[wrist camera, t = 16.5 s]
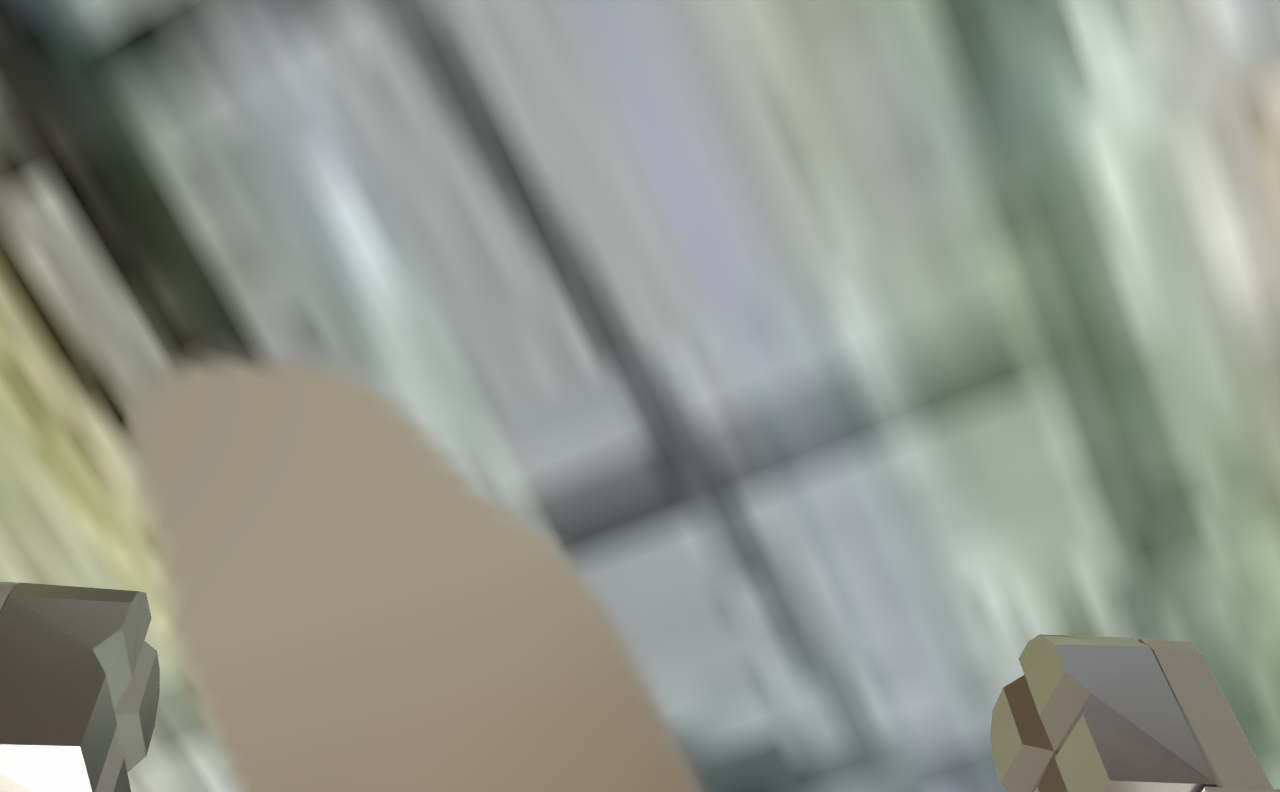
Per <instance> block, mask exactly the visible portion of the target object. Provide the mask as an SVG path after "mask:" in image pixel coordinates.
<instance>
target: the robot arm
mask: <svg viewBox="0 0 1280 792" xmlns="http://www.w3.org/2000/svg"><path fill="white" fill-rule="evenodd" d="M150 621H151V614H150V609H149V605H148V600H147V596H146V593H144V592H139V591H125V590H112V589H99V588H85V587H72V586H58V585H45V584H31V583H13V582H0V792H131V789H130V784H129V779H128V774H127V772H128V771H129V770H131V769H132V768H133V767H134V766H135V765H136V764H138V763H139V762H140V761H141V760H142V759H143V758H144V757H146V756H147V752H148V748H149V745H150V741H151V737H152V734H153V730H154V727H155V720H156V714H157V707H158V700H159V694H160V669H159V662H158V655H157V651H156V650H155V649H154V648H153V647H151V646H150V645H149V644H148V643H147V642H145V641H144V640H145V637H146V633H147V630H148V627H149V624H150ZM1019 661H1020V663H1021V666H1022V669H1023V672H1024V674H1025V675H1023V676H1022V677H1020V678H1018V679H1017V680H1015V681H1014V682H1012V683H1010V684H1009V685H1007V686H1005V687H1004V688H1003V689H1002V692H1001V694H1000V696H999V698H998V700H997V702H996V704H995V706H994V709H993V713H992V723H991V734H990V740H991V747H992V755H993V761H994V764H995V767H996V770H997V774H998V777H999V780H1000V783H1001V784H1002V785H1003V786H1004V787H1005V788H1006V789H1007V790H1008V791H1009V792H1280V789H1273V788H1272V786H1271V784H1270V782H1269V780H1268V778H1267V776H1266V774H1265V772H1264V771H1263V769H1262V767H1261V765H1260V763H1259V761H1258V759H1257V757H1256V755H1255V753H1254V751H1253V750H1252V748H1251V746H1250V744H1249V742H1248V740H1247V738H1246V736H1245V734H1244V732H1243V731H1242V729H1241V727H1240V725H1239V723H1238V721H1237V719H1236V717H1235V715H1234V713H1233V711H1232V710H1231V708H1230V706H1229V704H1228V702H1227V700H1226V698H1225V696H1224V694H1223V692H1222V691H1221V689H1220V687H1219V685H1218V683H1217V681H1216V679H1215V677H1214V675H1213V673H1212V671H1211V670H1210V668H1209V666H1208V664H1207V662H1206V660H1205V658H1204V656H1203V654H1202V653H1201V651H1200V650H1199V649H1197V648H1196V647H1195V646H1194V645H1193V644H1192V643H1191V642H1187V641H1167V640H1147V639H1137V640H1135V639H1133V638H1123V637H1095V636H1067V635H1038V636H1036V637H1035V638H1033V639H1032V640H1030V641H1029V642H1028V643H1027V645H1026V647H1025V649H1024V650H1023V652H1022V654H1021V656H1020V657H1019Z"/></svg>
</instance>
